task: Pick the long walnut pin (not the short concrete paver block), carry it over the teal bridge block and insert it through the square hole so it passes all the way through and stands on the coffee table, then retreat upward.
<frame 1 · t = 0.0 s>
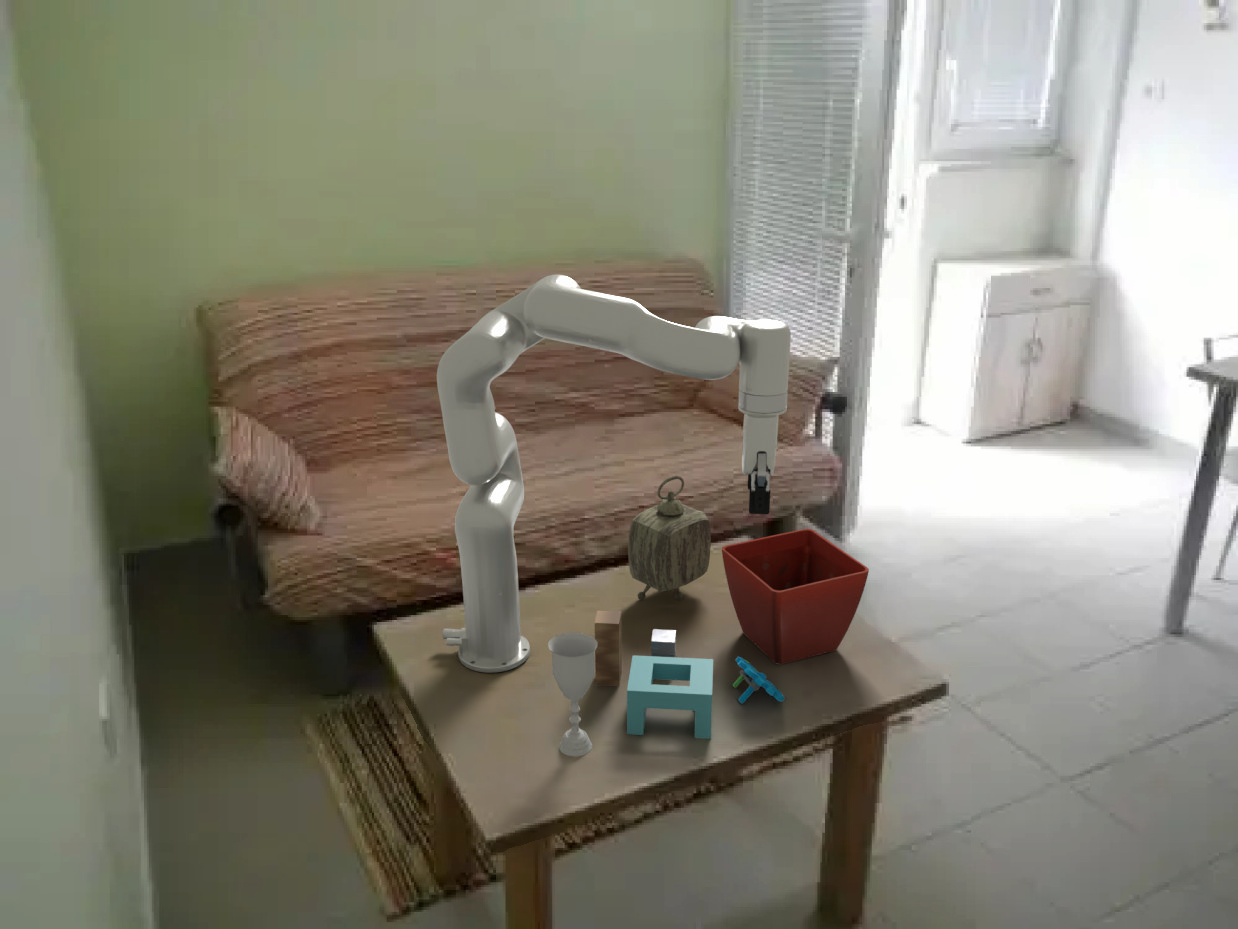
hand: (758, 501, 167), 31 cm above the table, fingers open, 9 cm apart
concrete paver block: (663, 665, 179), on the table
walnut pin: (608, 679, 175), on the table
plant pot: (788, 642, 186), on the table
tabletop clock: (670, 596, 202), on the table
gear: (757, 698, 170), on the table
bridge block: (670, 717, 165), on the table
chalice: (575, 747, 158), on the table
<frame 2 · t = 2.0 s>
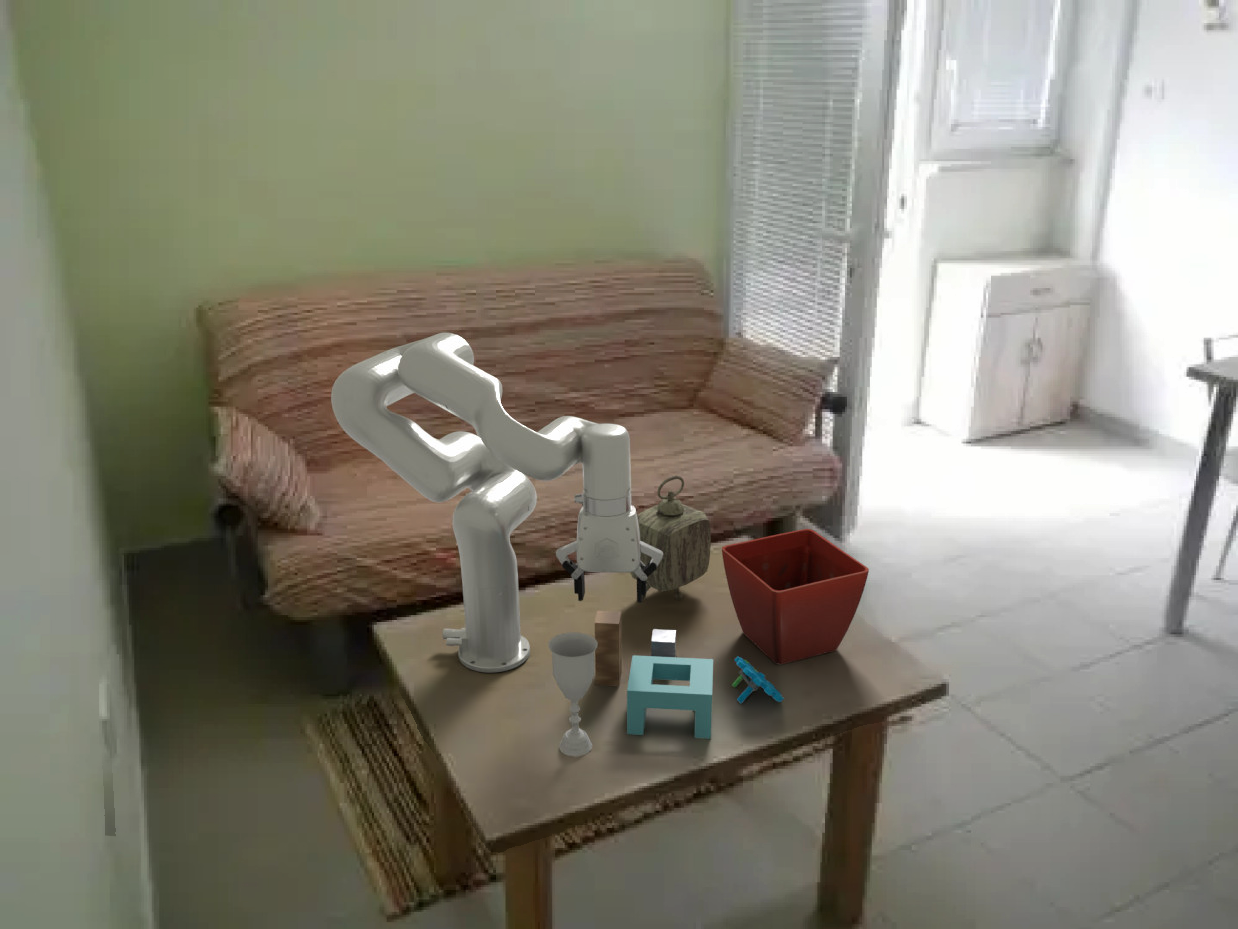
hand: (610, 597, 169), 16 cm above the table, fingers open, 9 cm apart
nothing on the table moved.
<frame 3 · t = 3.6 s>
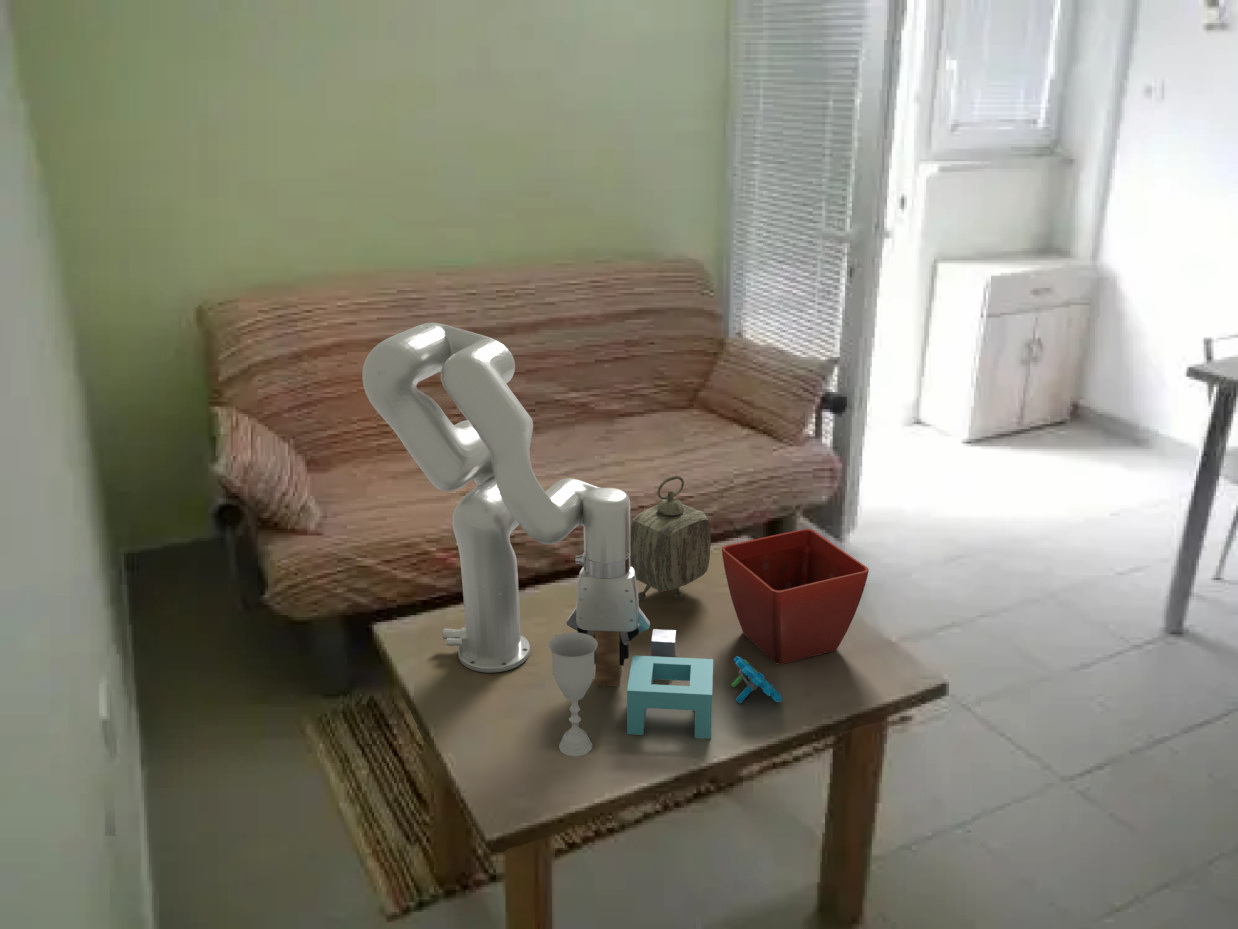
hand: (608, 659, 174), 4 cm above the table, fingers closed on walnut pin, 4 cm apart
walnut pin: (608, 679, 175), on the table, touching gripper
everything else where it was.
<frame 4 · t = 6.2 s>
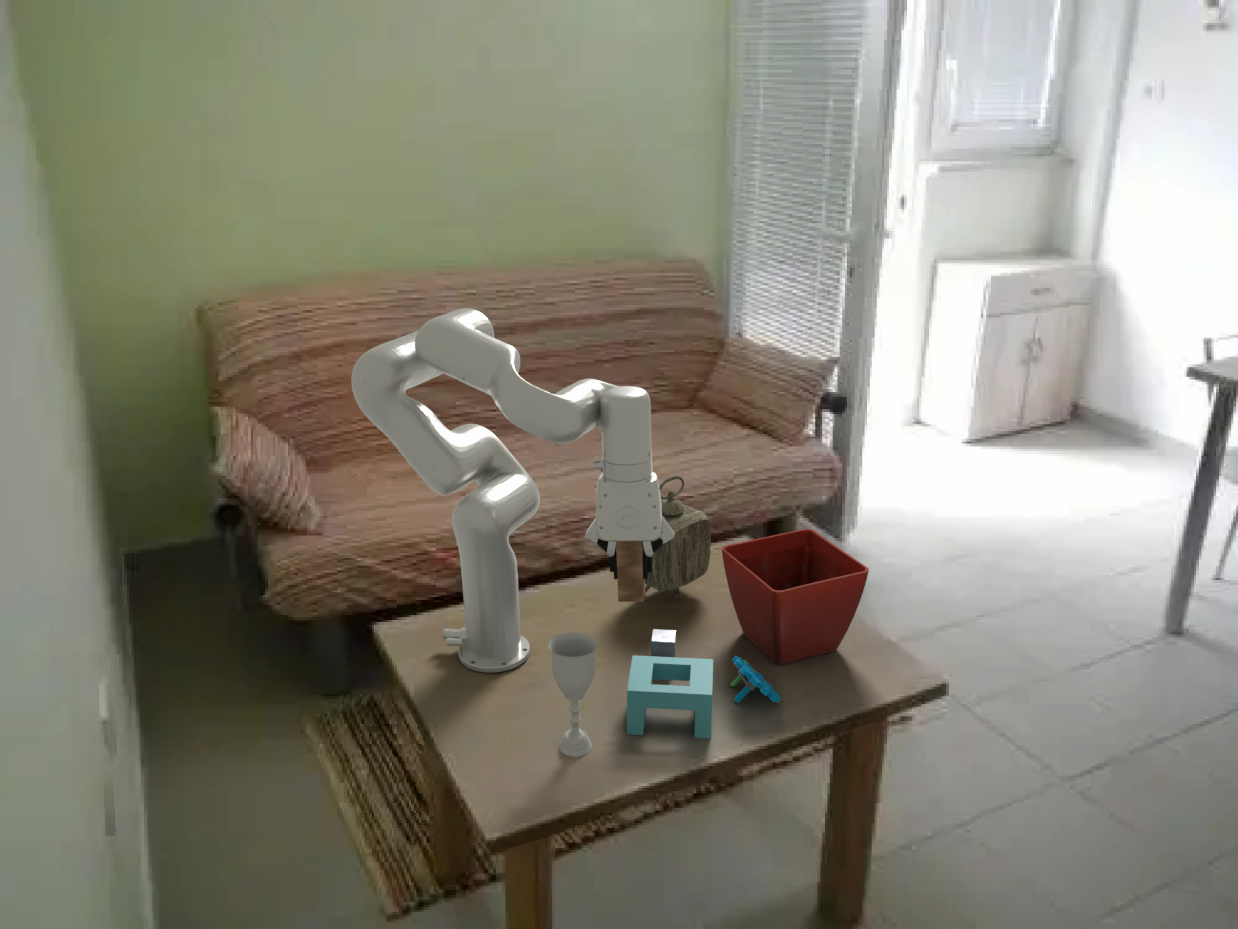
hand: (631, 574, 164), 22 cm above the table, fingers closed on walnut pin, 4 cm apart
walnut pin: (631, 595, 165), point 18 cm above the table, touching gripper
everything else where it was.
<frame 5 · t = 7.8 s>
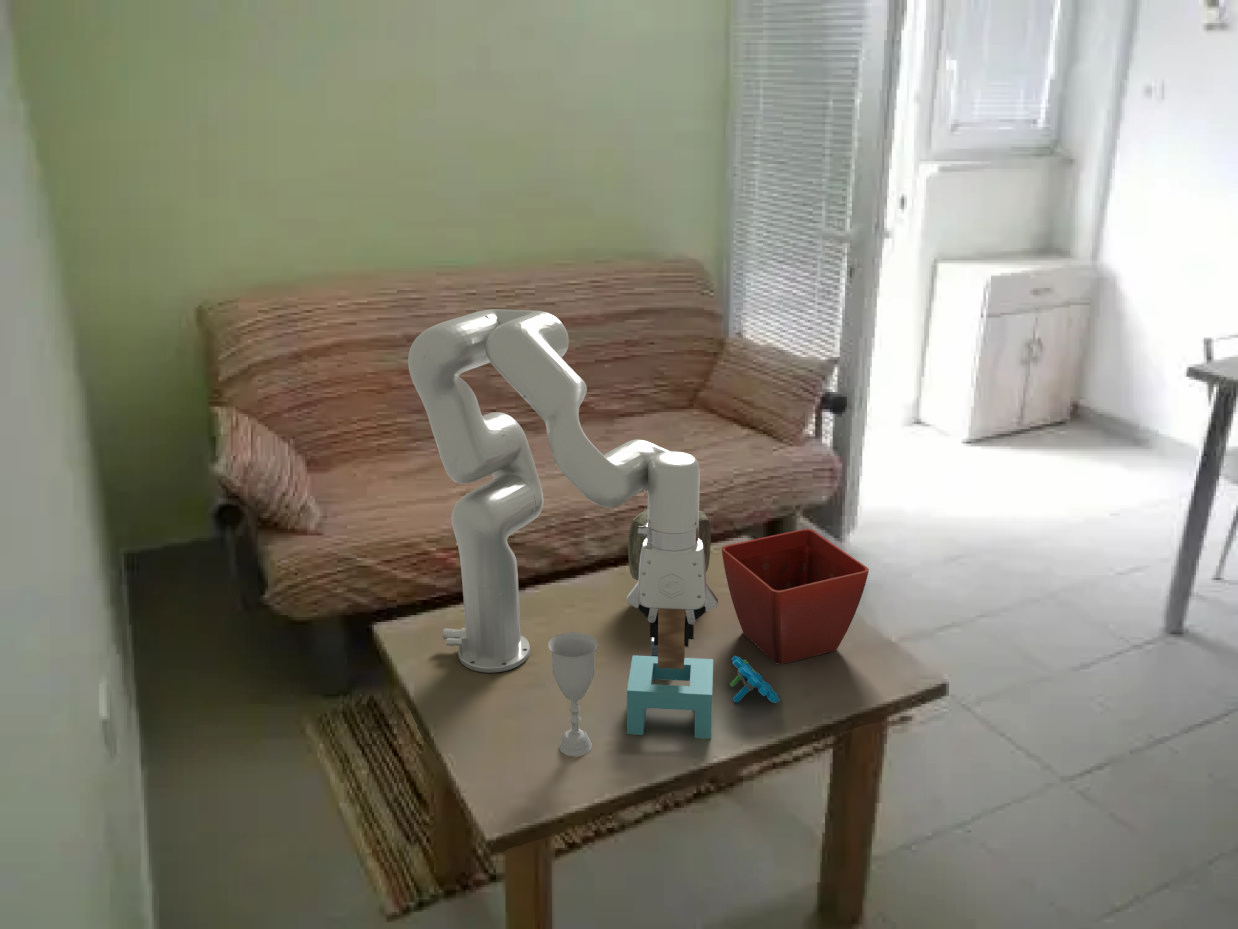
hand: (671, 640, 160), 14 cm above the table, fingers closed on walnut pin, 4 cm apart
walnut pin: (671, 661, 161), point 10 cm above the table, touching gripper
everything else where it was.
when the fingers open (9 cm above the table, at t = 9.1 s): walnut pin drops 5 cm, on the table.
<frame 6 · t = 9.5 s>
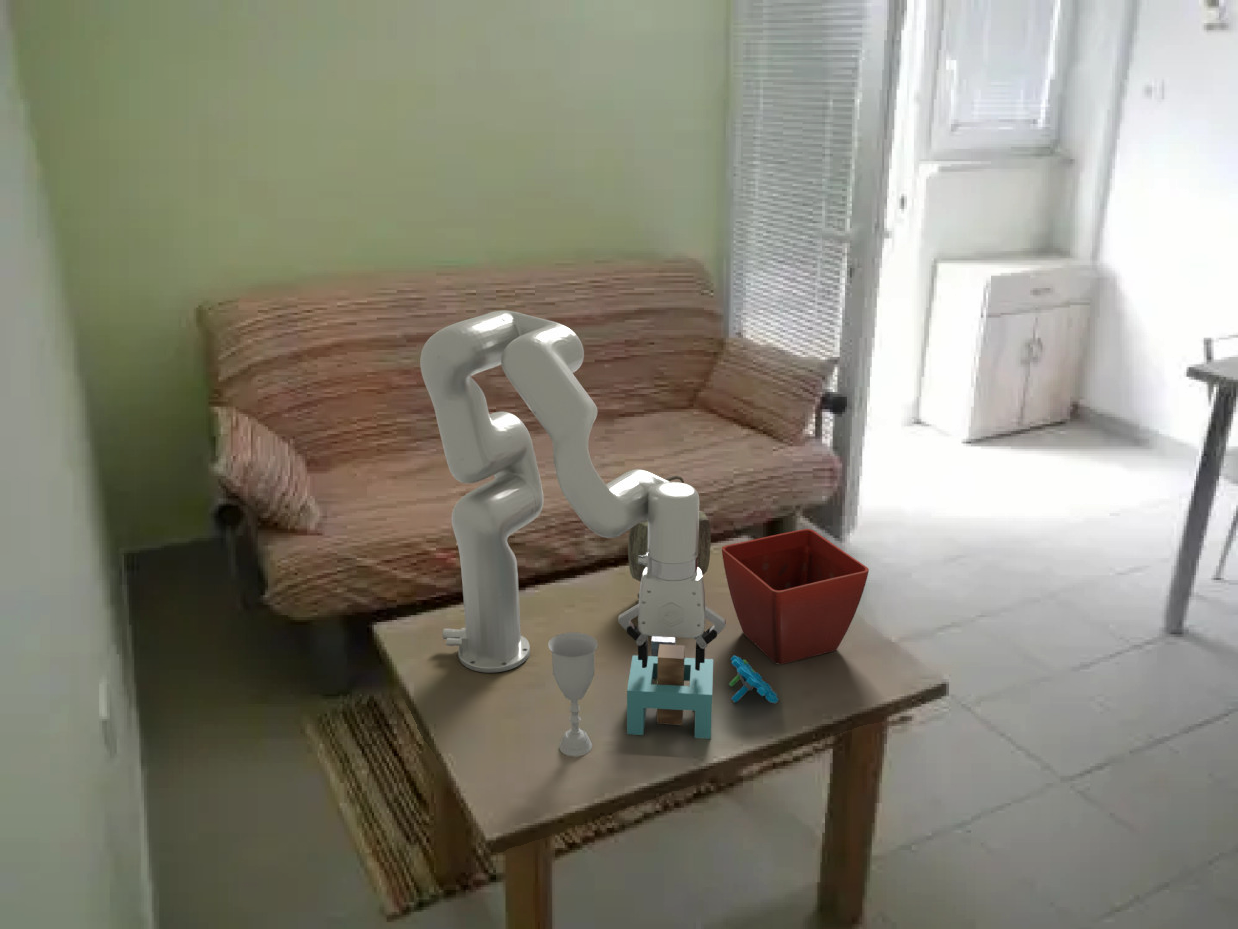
hand: (671, 664, 161), 10 cm above the table, fingers open, 7 cm apart
walnut pin: (670, 717, 165), on the table
everything else where it was.
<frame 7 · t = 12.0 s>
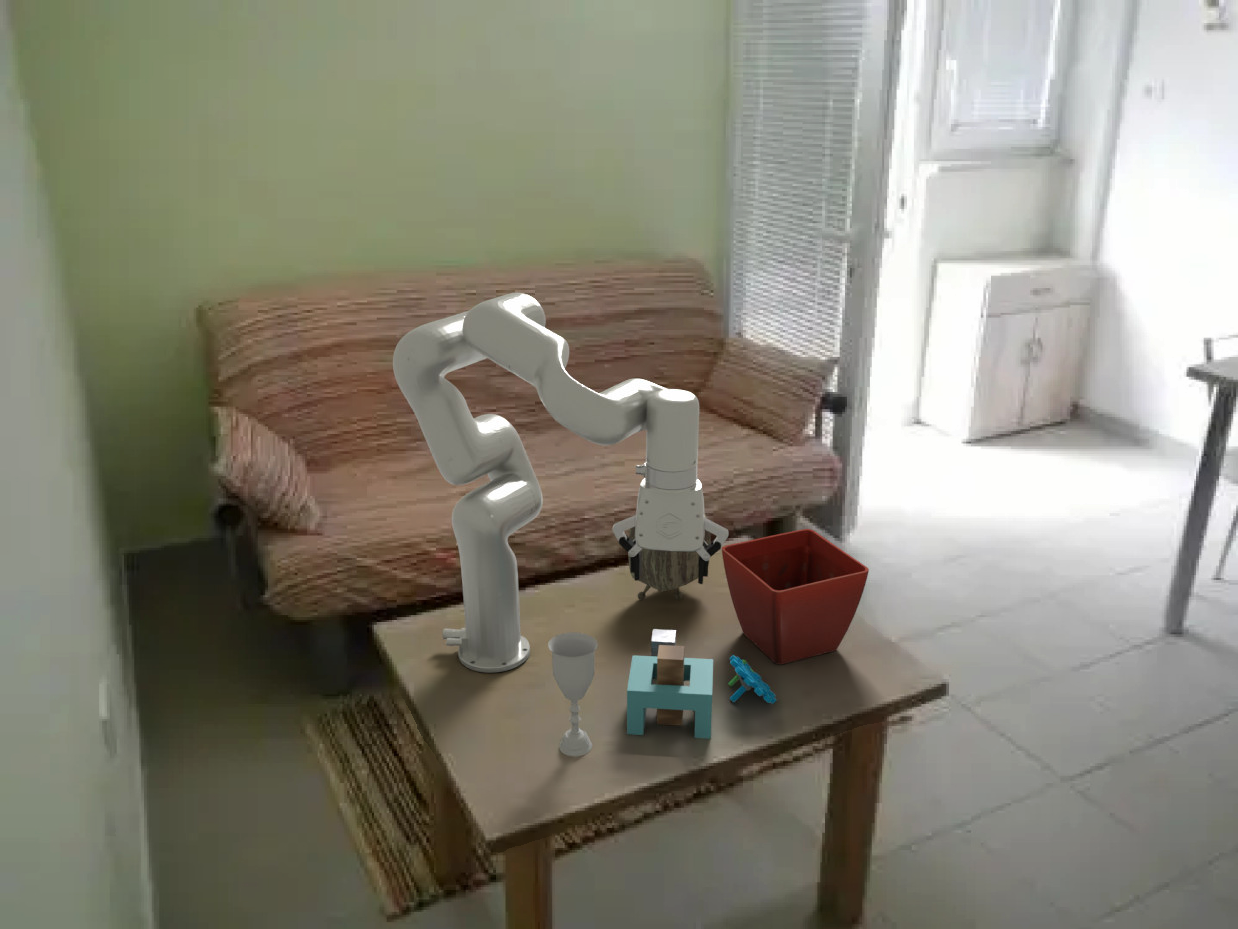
hand: (669, 578, 157), 24 cm above the table, fingers open, 9 cm apart
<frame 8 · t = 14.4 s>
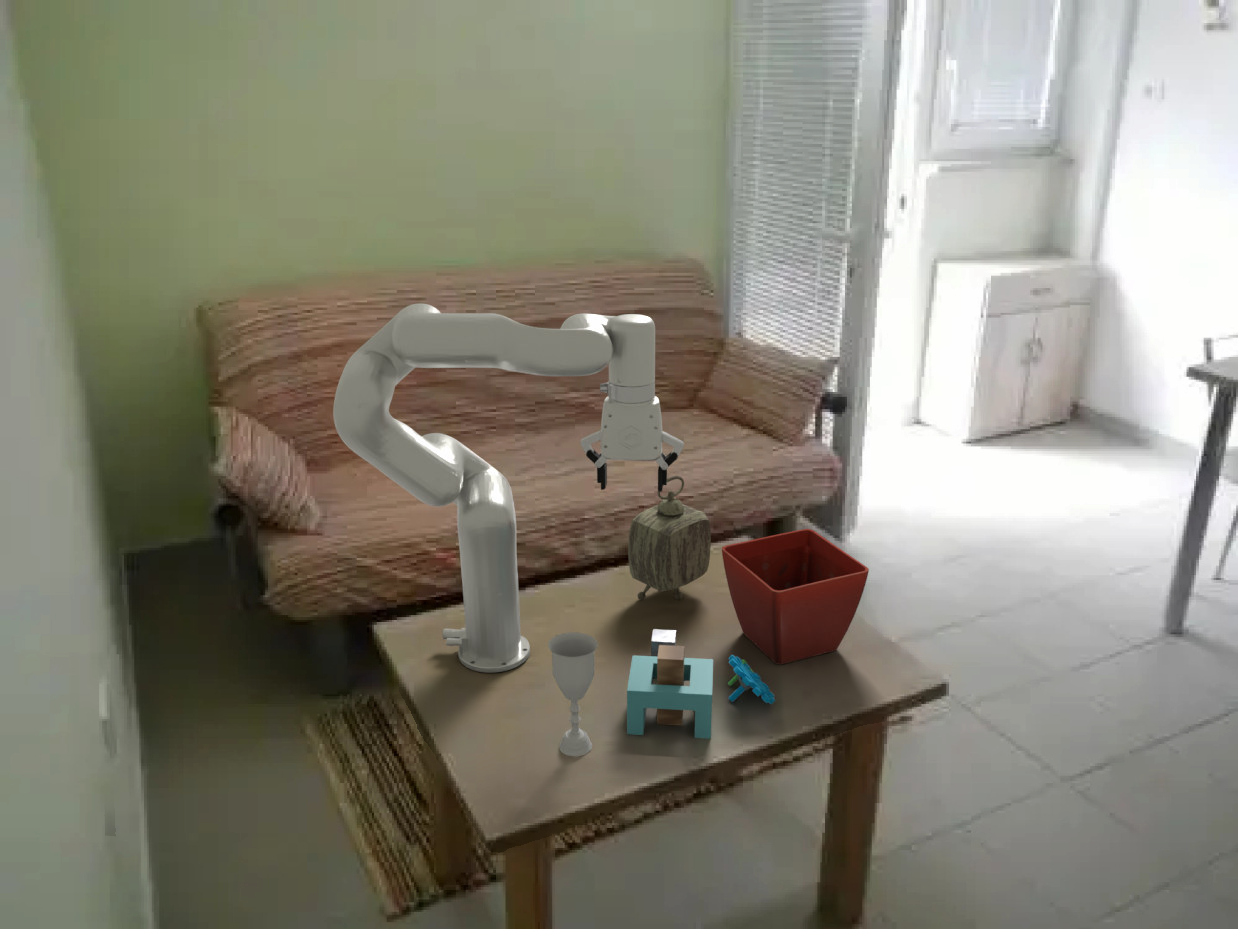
hand: (632, 487, 175), 30 cm above the table, fingers open, 9 cm apart
at the end: walnut pin 0.1 cm off-centre on the bridge block, point 0.0 cm above the bridge block's base; walnut pin tilted 0°; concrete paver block moved 0.1 cm from its start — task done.
